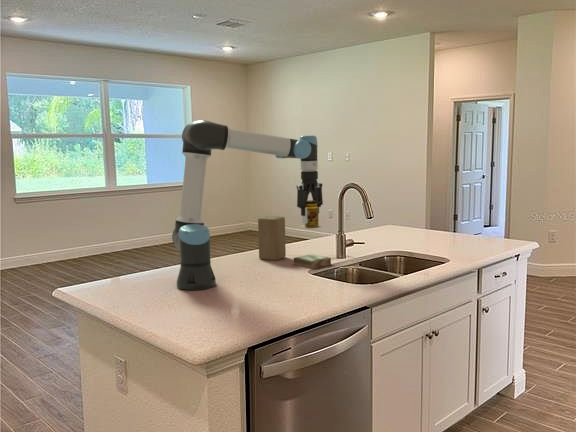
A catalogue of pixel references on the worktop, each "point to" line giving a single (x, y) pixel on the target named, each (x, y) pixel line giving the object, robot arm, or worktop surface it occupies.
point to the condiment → (312, 215)
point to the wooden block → (271, 237)
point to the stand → (312, 261)
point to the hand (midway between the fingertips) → (310, 222)
